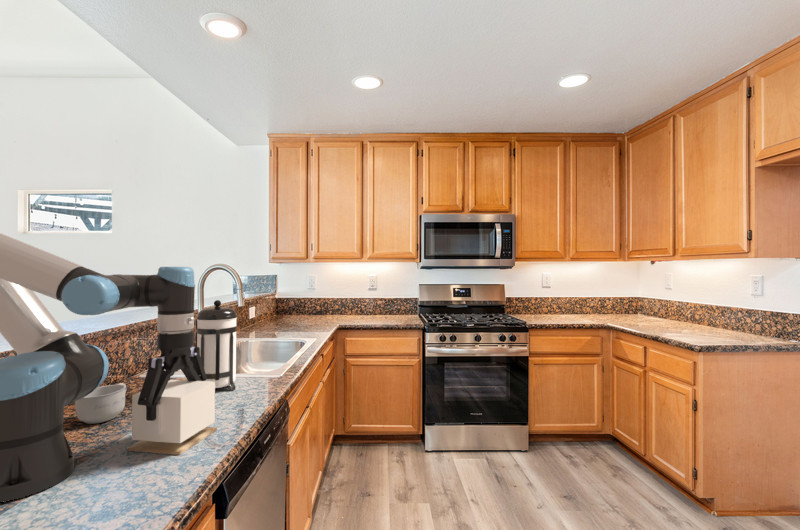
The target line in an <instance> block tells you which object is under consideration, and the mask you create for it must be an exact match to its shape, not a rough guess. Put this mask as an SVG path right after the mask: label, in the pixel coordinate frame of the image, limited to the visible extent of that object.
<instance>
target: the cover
mask: <svg viewBox="0 0 800 530" xmlns="http://www.w3.org/2000/svg"><path fill="white" fill-rule="evenodd" d="M140 393H141V391H139V392H136V393H134V394H132V397H131V401H132V402H131V410H132V411H131V413H132V414H131V440H133V441H155V442H169V443H182V442H183V441H185V440H186V439H188V438H190V437H191V436H193V435H194V434H196V433H198V432H199V431H201V430H202V429H204V428H205V427H210V425H212V424H214V423H215V421H216V419H215V418H216V416H215V415H216V414H215V413H216V412H215V411H216V407H215V406H216V388H215V382H212V381H188V380H187V379H183V380H182V379H169V381H168V383H167V385H166V388H165V390H164V392H163V394H162V396H161V398H160V400H159V403H158V404H161V434H159V435H155V434H148V421H147V419H146V406H145V405H138V399H139V396H140ZM153 400H154V398H153Z"/></svg>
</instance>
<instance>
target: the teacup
mask: <svg viewBox="0 0 800 530" xmlns="http://www.w3.org/2000/svg"><path fill="white" fill-rule="evenodd" d="M126 393H127V385H126V383H124V382H120V383H117V384H109V385H102V386H101V385H100V386H99V387H98V388H96V389H95V390H94V391H93V392H92V393H90V394H88V395H87V396H85V397H83V398H80V399H78V400H76V401H75V402H74V404H75V414H76V417H77V419H78V420H79V421H81V422H83V423H85V424H88V425H93V424H100V423H104V422H108V421H111V420H113V419H115V418H116V417H118V416H119V414H120V413H122V412H123V410H124V409H125V408H126V406H125V405H126Z"/></svg>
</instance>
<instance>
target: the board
mask: <svg viewBox="0 0 800 530" xmlns="http://www.w3.org/2000/svg"><path fill="white" fill-rule="evenodd" d="M216 431H218V427H216V426H215V427H214V426H213V427H212V426H207V427H205V428H204V429H202V430H201V431H199V432H198V433H196V434H194V435H193V436H191V437H190V438H188V439H186V440H185V441H183V442H182V443H169V442H155V441H141V440H138V441H137V442H135V443H134V444H132V445H130V446H129V447H127V448H126V451H127V452H128V451H130V452H141V453H154V454H163V455H164V454H165V455H174V456H175V455H178V456H180V455H182V454H183V453H185V452H187V451H188V450H190V449H191V448H192V447H194V446H196V445H197V444H198V443H200V442H202V441H203V440H204V439H206V438H207V437H209V436H211V434H213V433H215V432H216Z"/></svg>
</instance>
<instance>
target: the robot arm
mask: <svg viewBox="0 0 800 530" xmlns="http://www.w3.org/2000/svg"><path fill="white" fill-rule="evenodd" d="M157 271H158V272H157V274H151V275H150V274H107V275H106V274H103V273H99V272H97V271H96V270H93V269H90V268H87V267H84V266H83V265H81V264H77V263H75V262H73V261H70V260H68V259H65V258H63V257H60V256H58V255H55V254H53V253H51V252H48V251H45V250H44V249H40V248H38V247H35V246H33V245H31V244H28V243H26V242H23V241H21V240H18V239H16V238H13V237H11V236H9V235H6V234H4V233H1V232H0V334H1V336H2V337H3V338H4V339H5V340H6V342H7V344H9V345H10V347H11V348H12V349H13V350H14V352H15V353H16V355H11V356H6V357H3V358H1V359H0V502H3V501H8V500H13V501H15V500H14V499H17V500H20V499H24V498H26V497H25V496H27V497H29V495H30V496H32V495H35V494H37V492H38V493H40V492H43V491H45V490H47V489H50V488H51V486H52V487H53V485H54V486H55V484H56V485H57V484H59V483H61V482H62V481H64V480H66V479H67V478H68V477H69V476H71V475H72V474H73V472H74V470H75V456H74V453H73V452H72V449H71V446H70V443H69V441H68V440H67V437H66V434H65V432H64V419H65V418H64V415H65V414H64V410H65V409H64V408H65V407H67V406H69V405H71V404H73V403H75V401H76V400H78V399H80V398H83V397H85V396H87V395H88V394H90V393H92V392H93V391H94V390H95V389H96V388H98V387H101V385H102V384H103V383H104V381H105V380H106V378H107V376H108V373H109V369H110V364H109V358H108V356H107V354H106V353H105V352H104V350H102V349H101V348H100V347H98V346H96V345H93V344H88V343H86V342H84V339H82V338H81V337H80V335H79V334H78V332H76V331H67V330H65V329H64V328H63V327H62V326H61V324H60V323H59V322H58V320H56V318H55V317H54V316H53V315H52V313H51V311H49V310H48V308H47V307H46V306H45V305H44V303H43V302H42V300H41V299H40V298H39V297H38V296H37V294H36V293H39V294H41V295H42V296H46V297H49V298H52V299H54V300H57V301H60V302H62V303H63V305H64V306H65V308H66V309H67V310H68V311H70V312H71V313H73V314H75V315H79V316H98V315H102V314H105V313H110V312H113V311H118V310H122V309H128V308H145V307H148V308H149V307H151V308H152V307H157V324H156V326H157V327H156V328H157V329H156V330H157V331H158V332H159V333H158V334H157V340H156V341H157V344H156V345H157V346H156V347H157V349H158V350H160V356H159V357H149V359H148V364H147V371H146V375H145V378H144V380H143V384H142V387H141V391H140V392H141V393H140V396H139V399H138V405H145V406H146V419H147V421H148V434H155V435H159V434H161V404H158V403H159V400H160V398H161V396H162V394H163V392H164V390H165V388H166V385H167V383H168V381H170V380H171V377H173V376H174V374H175V373H176V372H178V371H180V370H181V372H182V373H183V375H184V376H185V378H186V380H188V381H206V379H207V377H206V374H205V370H204V367H203V364H202V361H201V357H200V348H199V347H197V346H194V345H195V331H194V330H193V329H194V328H195V293H196V292H195V290H196V288H195V287H196V284H195V271H194V269H193V268H192V267H190V266H160V267H158V270H157ZM199 375H201V376H199ZM153 398H154V400H153ZM66 477H67V478H66ZM49 487H50V488H49ZM44 489H45V490H44ZM42 490H43V491H42ZM31 494H32V495H31ZM19 498H20V499H19Z"/></svg>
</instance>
